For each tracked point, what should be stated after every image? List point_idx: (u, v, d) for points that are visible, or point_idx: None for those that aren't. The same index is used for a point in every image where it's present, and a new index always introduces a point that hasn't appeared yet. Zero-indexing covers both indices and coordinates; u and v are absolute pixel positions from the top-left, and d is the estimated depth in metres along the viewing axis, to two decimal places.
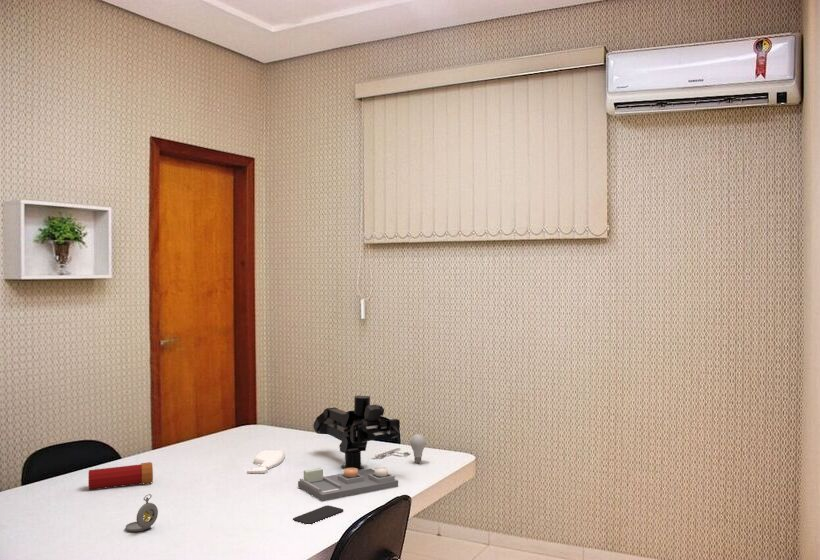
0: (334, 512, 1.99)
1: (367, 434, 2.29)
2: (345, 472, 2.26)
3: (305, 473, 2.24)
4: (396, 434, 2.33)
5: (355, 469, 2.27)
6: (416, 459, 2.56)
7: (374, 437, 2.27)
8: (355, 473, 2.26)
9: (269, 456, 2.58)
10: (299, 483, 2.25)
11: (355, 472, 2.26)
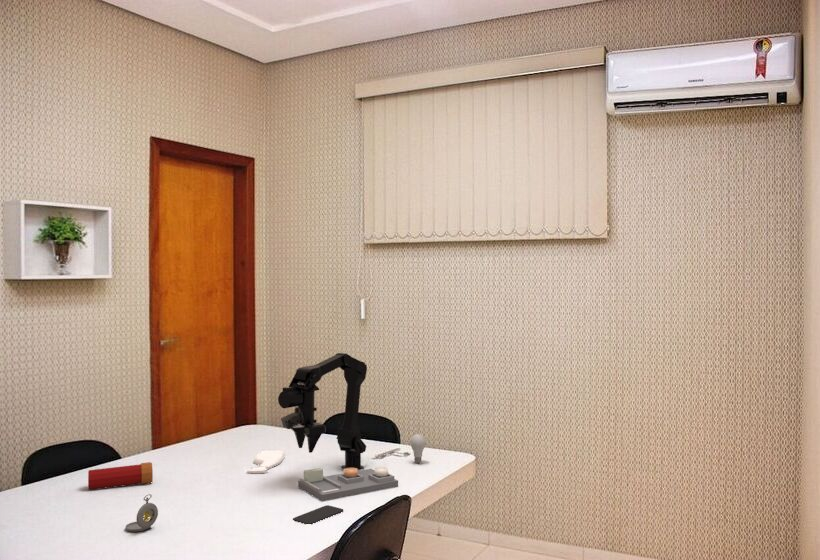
0: (334, 512, 1.99)
1: None
2: (345, 472, 2.26)
3: (305, 473, 2.24)
4: None
5: (355, 469, 2.27)
6: (416, 459, 2.56)
7: None
8: (355, 473, 2.26)
9: (269, 456, 2.58)
10: (299, 483, 2.25)
11: (355, 472, 2.26)
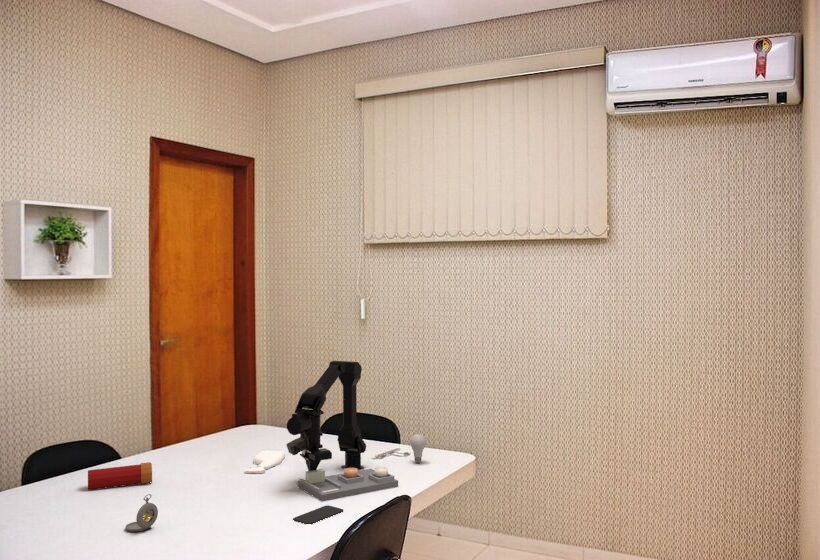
0: (334, 512, 1.99)
1: None
2: (345, 472, 2.26)
3: (307, 474, 2.23)
4: None
5: (355, 469, 2.27)
6: (416, 459, 2.56)
7: None
8: (355, 473, 2.26)
9: (268, 456, 2.58)
10: (299, 483, 2.25)
11: (355, 472, 2.26)
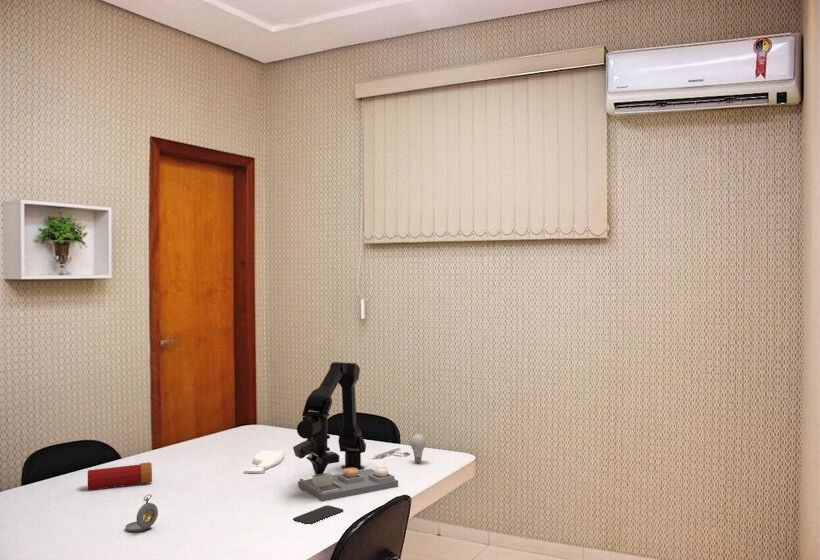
0: (334, 512, 1.99)
1: None
2: (345, 472, 2.26)
3: (314, 478, 2.19)
4: None
5: (355, 469, 2.27)
6: (416, 459, 2.56)
7: None
8: (355, 473, 2.26)
9: (268, 456, 2.58)
10: (299, 483, 2.25)
11: (355, 472, 2.26)
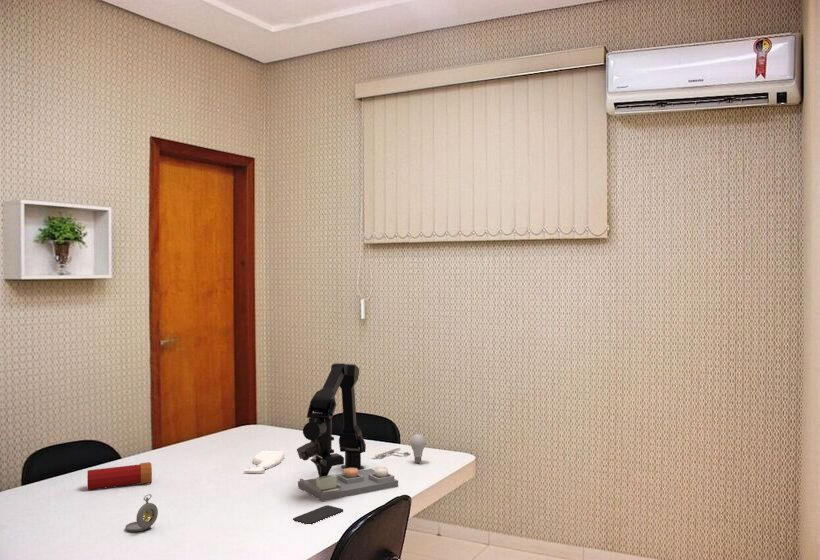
0: (334, 512, 1.99)
1: None
2: (345, 472, 2.26)
3: (318, 480, 2.16)
4: None
5: (355, 469, 2.27)
6: (416, 459, 2.56)
7: None
8: (355, 473, 2.26)
9: (268, 456, 2.58)
10: (299, 483, 2.25)
11: (355, 472, 2.26)
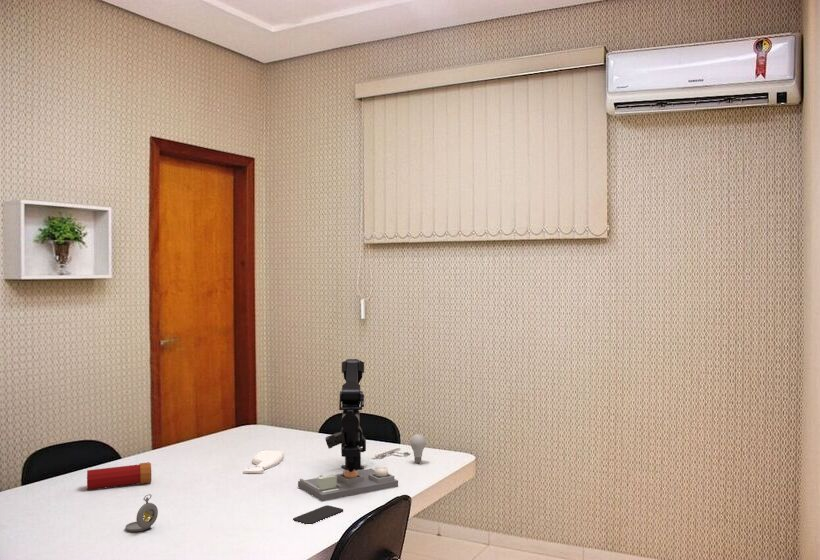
0: (334, 512, 1.99)
1: None
2: (345, 474, 2.26)
3: (318, 480, 2.16)
4: None
5: (355, 471, 2.27)
6: (416, 459, 2.56)
7: None
8: (355, 475, 2.26)
9: (267, 456, 2.58)
10: (299, 483, 2.25)
11: (355, 474, 2.26)
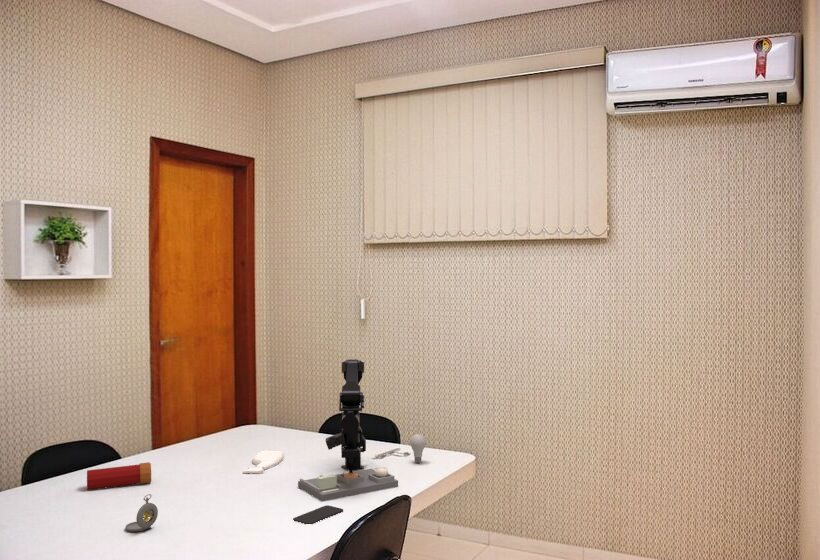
0: (334, 512, 1.99)
1: None
2: (345, 477, 2.26)
3: (318, 480, 2.16)
4: None
5: (355, 474, 2.27)
6: (416, 459, 2.56)
7: None
8: None
9: (267, 456, 2.58)
10: (299, 483, 2.25)
11: (355, 477, 2.26)
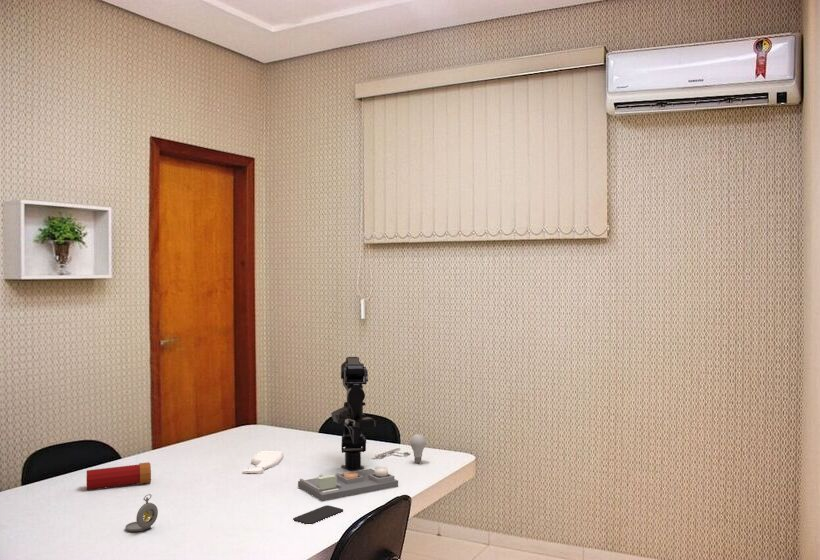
0: (334, 512, 2.00)
1: None
2: (345, 477, 2.26)
3: (318, 480, 2.16)
4: None
5: (355, 474, 2.27)
6: (416, 459, 2.56)
7: None
8: None
9: (267, 456, 2.57)
10: (299, 483, 2.25)
11: (355, 477, 2.26)
